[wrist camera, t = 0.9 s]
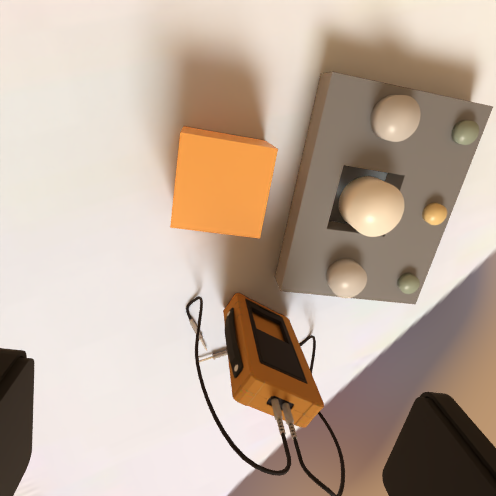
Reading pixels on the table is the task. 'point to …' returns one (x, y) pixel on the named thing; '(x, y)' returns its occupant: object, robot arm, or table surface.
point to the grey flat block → (399, 175)
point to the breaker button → (371, 206)
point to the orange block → (222, 183)
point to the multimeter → (267, 373)
